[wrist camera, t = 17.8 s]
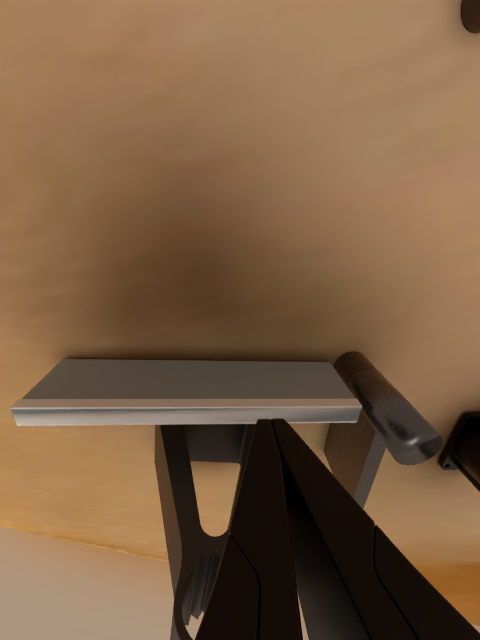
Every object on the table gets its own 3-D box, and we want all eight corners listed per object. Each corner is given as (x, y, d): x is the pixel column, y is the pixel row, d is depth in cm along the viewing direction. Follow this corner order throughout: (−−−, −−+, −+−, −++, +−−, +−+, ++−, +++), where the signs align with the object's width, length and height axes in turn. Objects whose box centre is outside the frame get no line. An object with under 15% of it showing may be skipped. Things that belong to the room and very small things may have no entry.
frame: (335, 451, 22) (380, 549, 16) (307, 451, 22) (342, 550, 16) (516, -27, 11) (942, -363, 4) (463, -41, 11) (835, -421, 4)
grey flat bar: (330, 360, 18) (362, 406, 14) (326, 374, 18) (356, 422, 14) (62, 357, 16) (10, 407, 12) (66, 373, 17) (17, 426, 13)
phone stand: (155, 455, 21) (84, 721, 10) (157, 398, 19) (68, 666, 8) (260, 460, 22) (298, 704, 11) (275, 407, 20) (340, 652, 9)
